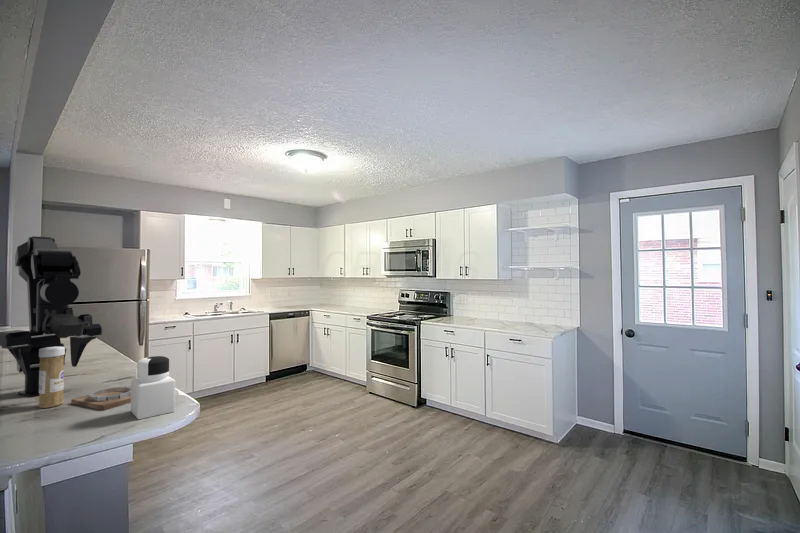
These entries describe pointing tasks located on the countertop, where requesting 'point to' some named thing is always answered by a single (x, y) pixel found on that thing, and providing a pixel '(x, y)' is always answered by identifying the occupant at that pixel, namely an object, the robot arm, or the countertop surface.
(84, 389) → the countertop surface
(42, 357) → the sprinkles bottle
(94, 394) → the display stand
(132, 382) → the medicine bottle
